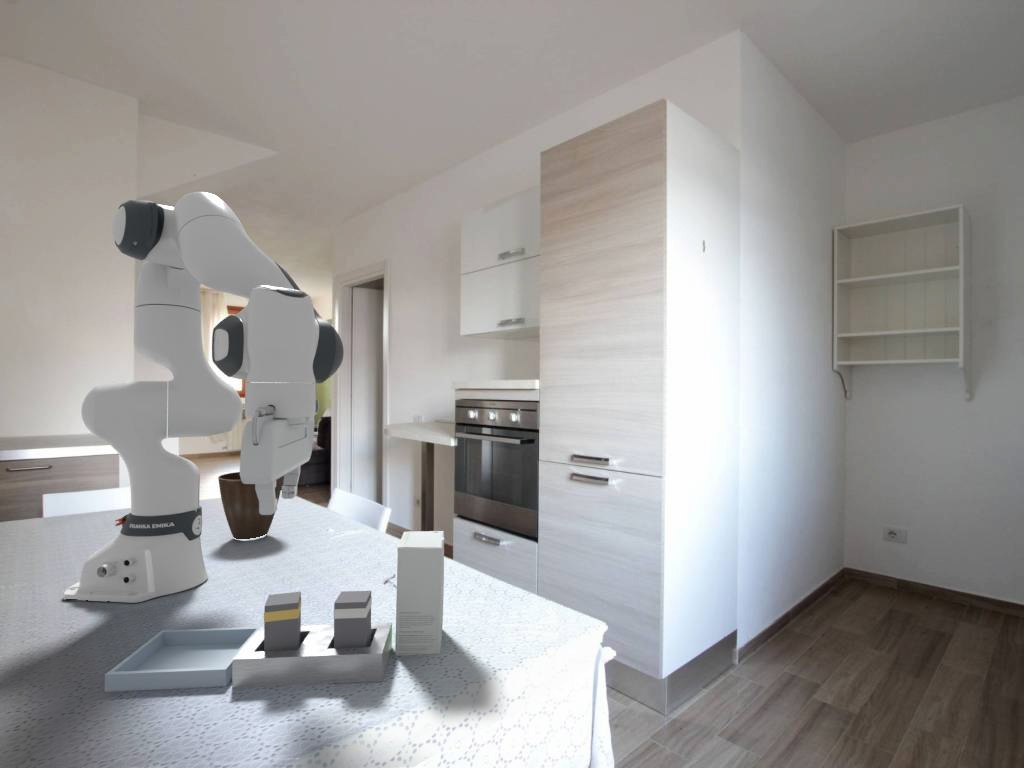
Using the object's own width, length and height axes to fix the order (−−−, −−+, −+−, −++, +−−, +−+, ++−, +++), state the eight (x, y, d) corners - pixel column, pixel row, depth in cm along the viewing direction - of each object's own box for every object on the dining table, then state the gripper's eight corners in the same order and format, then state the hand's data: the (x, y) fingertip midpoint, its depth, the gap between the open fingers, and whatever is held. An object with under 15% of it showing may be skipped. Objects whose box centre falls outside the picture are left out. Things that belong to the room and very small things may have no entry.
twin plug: (333, 673, 68) (333, 603, 68) (340, 657, 72) (341, 591, 72) (365, 672, 68) (366, 602, 69) (371, 656, 73) (371, 590, 73)
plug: (263, 677, 67) (264, 606, 67) (268, 662, 71) (268, 594, 71) (298, 672, 68) (298, 602, 68) (300, 657, 72) (301, 591, 72)
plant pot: (294, 535, 137) (295, 473, 137) (239, 549, 124) (239, 481, 125) (261, 527, 145) (261, 469, 145) (205, 540, 132) (206, 476, 133)
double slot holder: (232, 692, 65) (232, 659, 65) (260, 656, 74) (260, 627, 74) (381, 685, 66) (382, 653, 66) (391, 650, 75) (391, 622, 75)
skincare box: (401, 632, 81) (402, 530, 81) (445, 631, 81) (445, 529, 82) (394, 660, 73) (394, 546, 73) (442, 658, 73) (443, 545, 73)
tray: (104, 696, 64) (104, 674, 64) (161, 648, 76) (161, 630, 76) (225, 690, 65) (225, 669, 65) (262, 644, 77) (262, 626, 77)
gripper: (282, 407, 62) (280, 524, 62) (321, 401, 83) (320, 490, 83) (225, 407, 62) (224, 526, 62) (279, 401, 82) (277, 490, 82)
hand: (279, 505), depth 72 cm, fingers open, 8 cm apart
